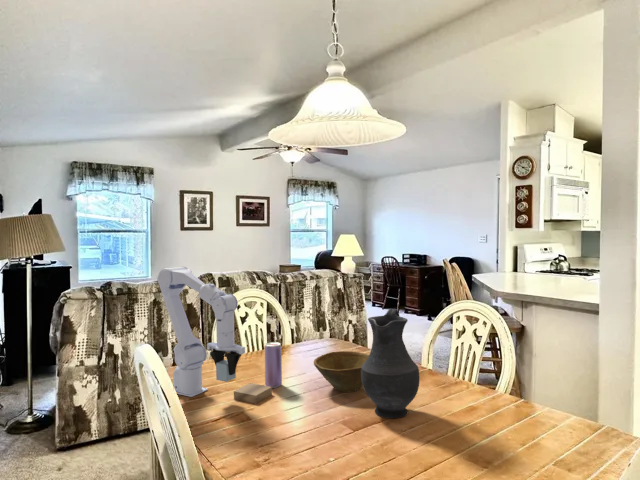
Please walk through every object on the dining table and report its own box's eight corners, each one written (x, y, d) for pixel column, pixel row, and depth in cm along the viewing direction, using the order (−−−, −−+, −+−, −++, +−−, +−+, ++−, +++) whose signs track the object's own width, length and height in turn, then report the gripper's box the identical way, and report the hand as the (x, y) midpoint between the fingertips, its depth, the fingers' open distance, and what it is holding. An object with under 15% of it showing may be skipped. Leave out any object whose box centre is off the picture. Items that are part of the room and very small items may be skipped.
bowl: (304, 382, 159) (304, 355, 159) (359, 374, 168) (359, 348, 168) (329, 403, 139) (328, 372, 139) (390, 392, 148) (390, 363, 148)
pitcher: (355, 419, 127) (353, 316, 126) (371, 394, 146) (370, 305, 146) (415, 427, 121) (414, 319, 120) (424, 401, 140) (423, 307, 140)
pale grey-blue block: (216, 379, 142) (216, 363, 142) (225, 375, 146) (225, 359, 146) (226, 381, 140) (226, 364, 140) (235, 377, 144) (235, 361, 144)
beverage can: (279, 389, 153) (278, 346, 153) (262, 388, 154) (262, 345, 154) (283, 383, 159) (283, 342, 159) (268, 382, 160) (267, 341, 160)
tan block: (233, 400, 144) (233, 391, 144) (250, 391, 152) (250, 383, 152) (256, 404, 140) (255, 395, 140) (271, 395, 148) (271, 386, 148)
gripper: (200, 332, 143) (200, 373, 143) (234, 336, 136) (235, 380, 136) (215, 328, 149) (215, 367, 149) (248, 332, 142) (249, 373, 142)
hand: (226, 373), depth 143 cm, fingers closed on pale grey-blue block, 4 cm apart
